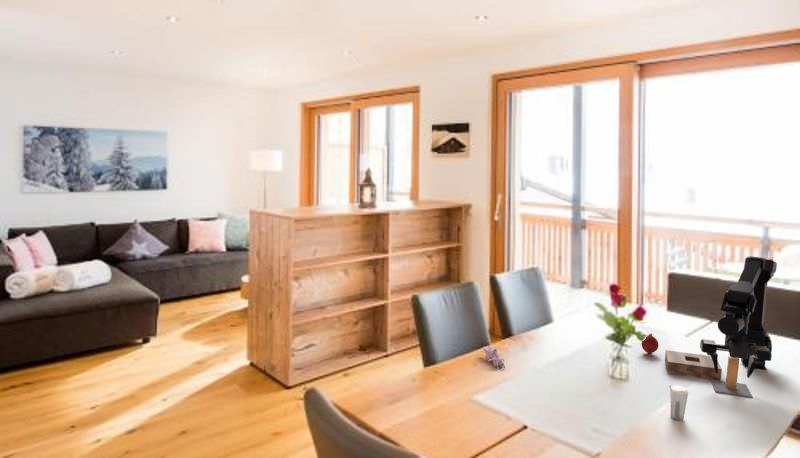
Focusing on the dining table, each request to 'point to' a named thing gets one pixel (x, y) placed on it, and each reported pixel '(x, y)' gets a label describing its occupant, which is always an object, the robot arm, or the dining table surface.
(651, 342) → the onion
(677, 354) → the hole block
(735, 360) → the peg
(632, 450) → the dining table surface
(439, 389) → the dining table surface
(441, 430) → the dining table surface
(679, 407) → the milkshake
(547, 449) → the dining table surface
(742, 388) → the mat
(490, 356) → the rabbit figure
